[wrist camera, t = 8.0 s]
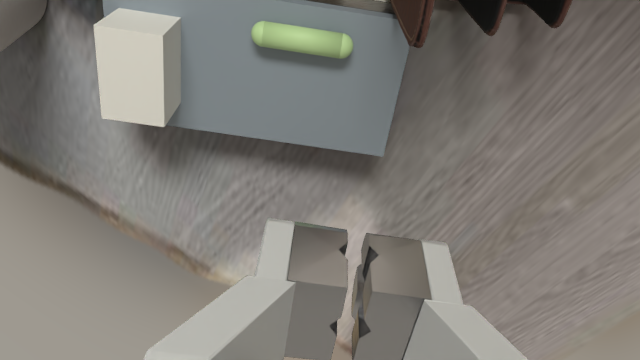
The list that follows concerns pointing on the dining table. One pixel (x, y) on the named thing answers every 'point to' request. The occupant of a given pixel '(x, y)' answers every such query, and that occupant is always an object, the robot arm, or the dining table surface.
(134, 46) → the tilted grey plate
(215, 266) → the dining table surface
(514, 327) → the dining table surface
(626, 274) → the dining table surface
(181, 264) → the dining table surface
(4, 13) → the coffee cup
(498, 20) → the letter holder
